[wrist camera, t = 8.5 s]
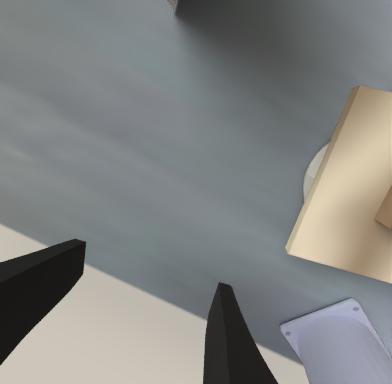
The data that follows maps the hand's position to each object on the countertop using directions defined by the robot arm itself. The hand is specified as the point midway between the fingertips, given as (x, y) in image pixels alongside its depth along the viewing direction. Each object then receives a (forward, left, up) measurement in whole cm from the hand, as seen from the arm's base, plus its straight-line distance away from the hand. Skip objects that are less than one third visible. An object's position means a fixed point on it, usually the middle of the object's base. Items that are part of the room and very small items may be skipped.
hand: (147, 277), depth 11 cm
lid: (-6, -14, -6) cm, 16 cm away
